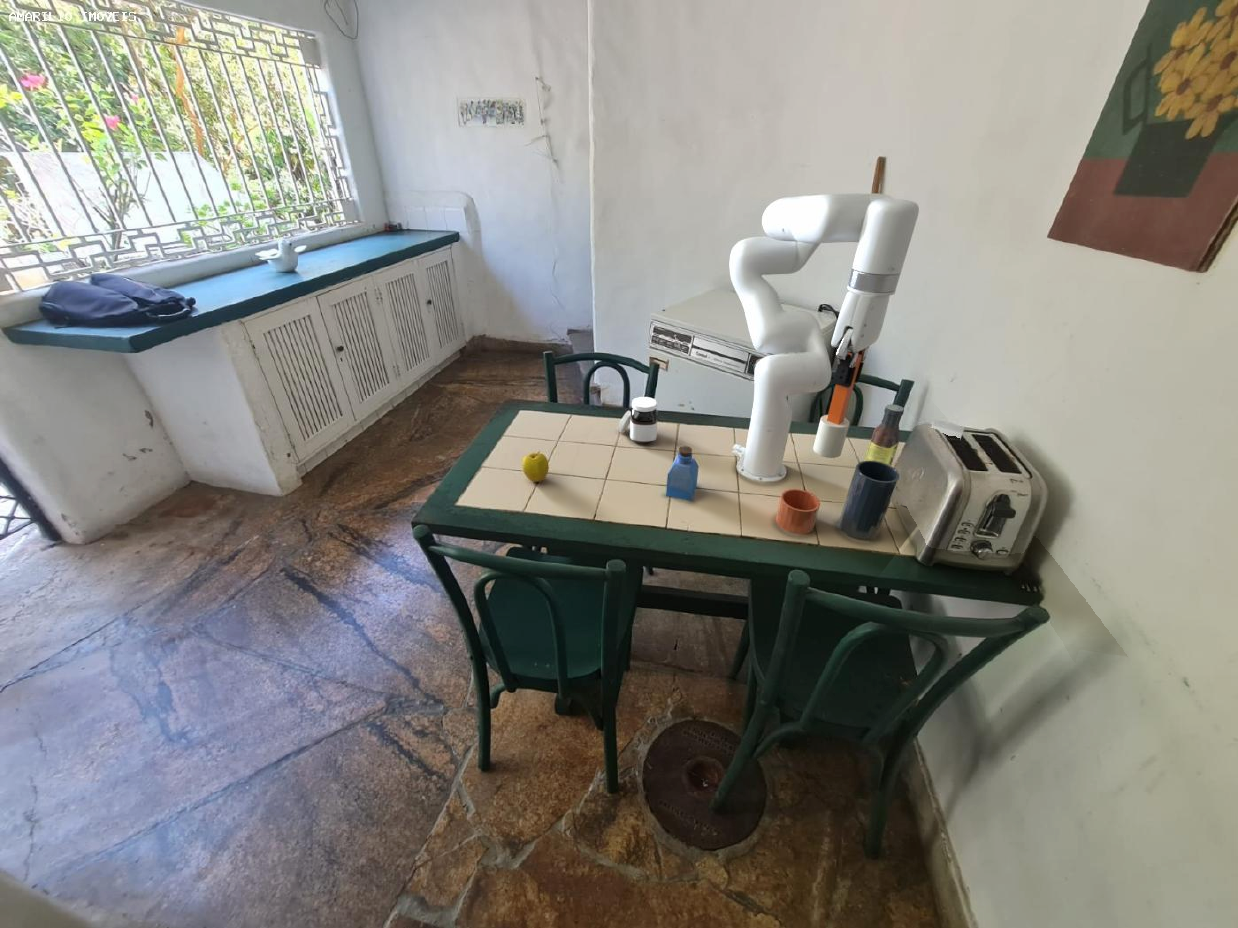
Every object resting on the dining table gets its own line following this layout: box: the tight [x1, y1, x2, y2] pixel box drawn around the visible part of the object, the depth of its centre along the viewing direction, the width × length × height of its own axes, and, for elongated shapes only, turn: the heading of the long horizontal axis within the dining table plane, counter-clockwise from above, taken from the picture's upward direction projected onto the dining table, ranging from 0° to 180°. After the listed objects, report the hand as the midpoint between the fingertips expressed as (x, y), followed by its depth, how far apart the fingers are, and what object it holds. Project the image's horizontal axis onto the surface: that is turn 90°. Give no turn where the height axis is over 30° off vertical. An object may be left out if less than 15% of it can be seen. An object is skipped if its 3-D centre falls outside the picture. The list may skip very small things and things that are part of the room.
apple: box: [521, 450, 550, 483], centre depth 127 cm, size 6×6×8 cm
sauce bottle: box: [863, 403, 905, 467], centre depth 126 cm, size 6×6×20 cm
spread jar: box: [616, 396, 659, 446], centre depth 145 cm, size 12×11×12 cm
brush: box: [812, 352, 862, 459], centre depth 98 cm, size 5×5×20 cm
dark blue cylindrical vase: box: [837, 460, 900, 542], centre depth 109 cm, size 8×8×16 cm
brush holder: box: [775, 488, 821, 535], centre depth 113 cm, size 8×8×7 cm
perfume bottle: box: [665, 445, 700, 502], centre depth 122 cm, size 6×6×12 cm
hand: (845, 382), depth 96 cm, fingers closed on brush, 2 cm apart
